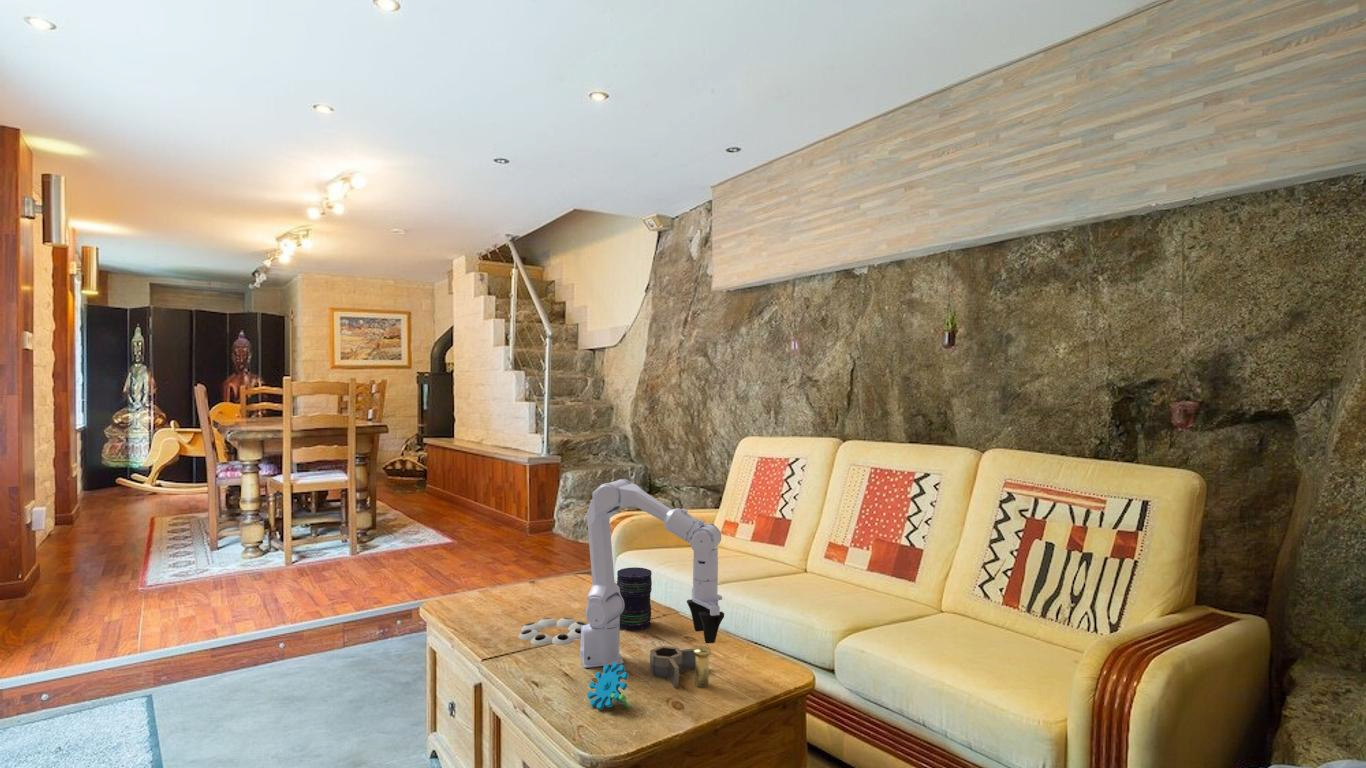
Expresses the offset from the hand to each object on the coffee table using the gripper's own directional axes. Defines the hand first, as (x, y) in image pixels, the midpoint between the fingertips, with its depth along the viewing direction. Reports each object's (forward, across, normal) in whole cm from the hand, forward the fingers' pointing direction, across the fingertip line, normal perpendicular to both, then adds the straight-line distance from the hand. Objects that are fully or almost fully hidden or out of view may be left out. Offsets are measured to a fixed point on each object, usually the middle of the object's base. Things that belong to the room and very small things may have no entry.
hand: (704, 636), depth 158 cm
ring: (+10, +38, +30) cm, 50 cm away
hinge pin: (+10, -3, +2) cm, 10 cm away
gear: (+10, -7, +24) cm, 26 cm away
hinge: (+10, +3, +5) cm, 11 cm away
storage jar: (+10, +38, +8) cm, 40 cm away
